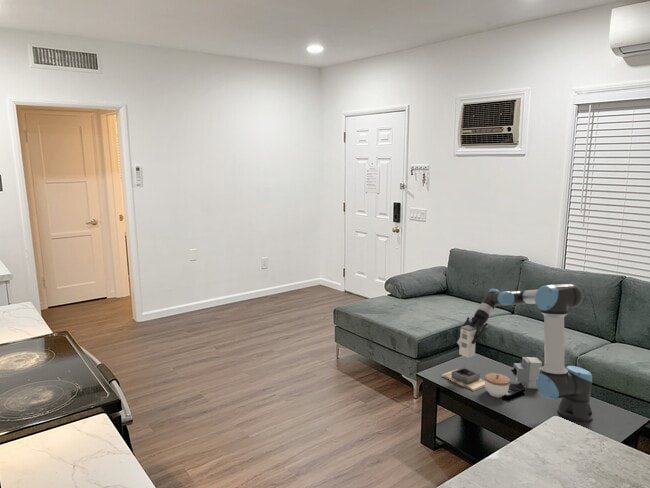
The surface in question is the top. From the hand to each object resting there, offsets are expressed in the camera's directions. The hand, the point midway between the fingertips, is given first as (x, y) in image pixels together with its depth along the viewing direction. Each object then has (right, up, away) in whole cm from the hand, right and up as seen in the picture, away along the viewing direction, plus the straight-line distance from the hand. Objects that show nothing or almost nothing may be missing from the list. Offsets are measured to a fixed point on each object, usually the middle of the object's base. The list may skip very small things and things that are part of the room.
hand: (463, 345), depth 260 cm
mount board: (+3, -21, +5) cm, 22 cm away
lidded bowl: (+14, -24, -11) cm, 30 cm away
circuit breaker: (+34, -22, +1) cm, 41 cm away
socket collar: (+3, -20, +5) cm, 20 cm away
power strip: (+3, -6, +3) cm, 7 cm away
